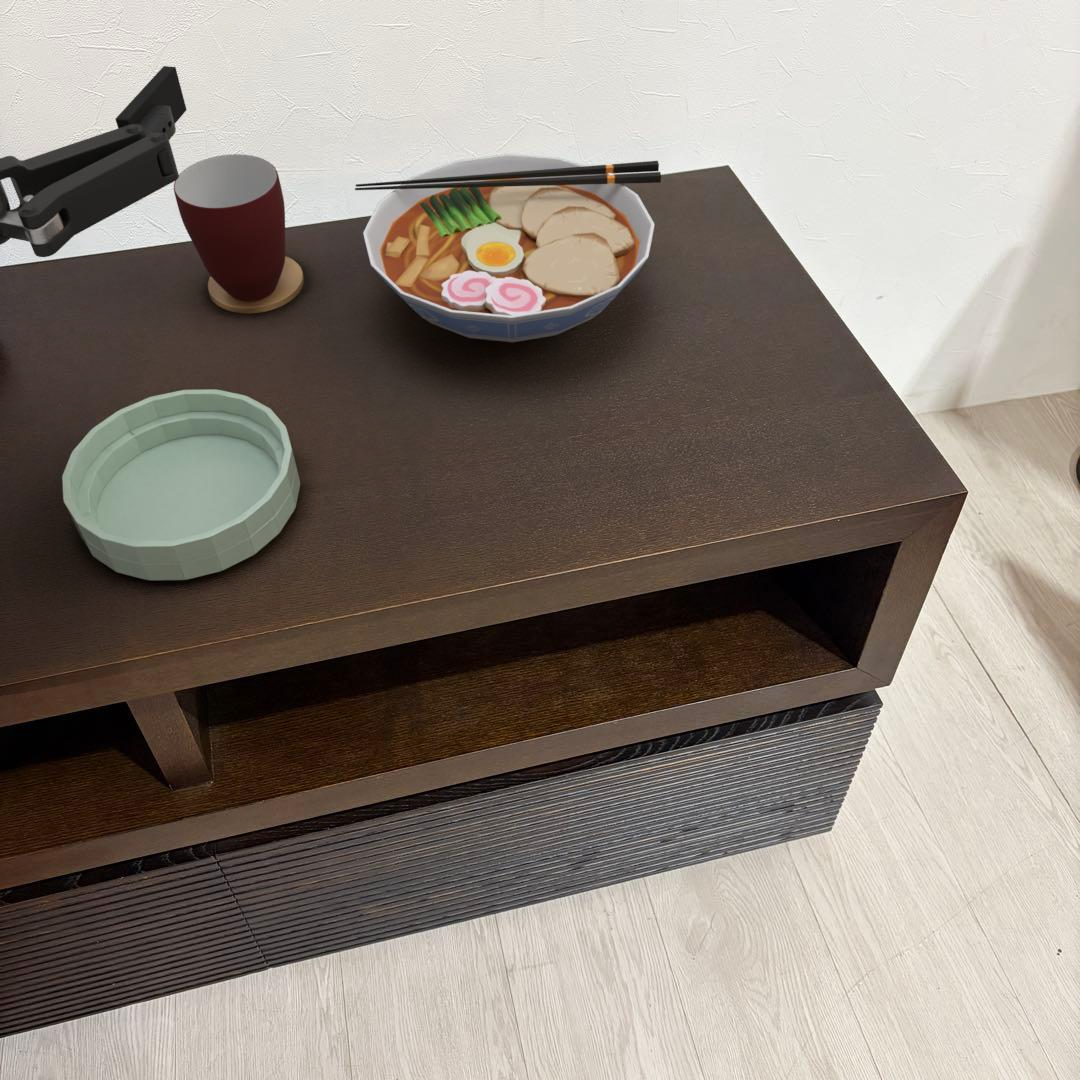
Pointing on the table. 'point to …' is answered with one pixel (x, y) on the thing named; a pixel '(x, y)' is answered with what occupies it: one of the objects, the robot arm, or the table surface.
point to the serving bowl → (182, 484)
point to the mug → (235, 222)
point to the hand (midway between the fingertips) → (73, 78)
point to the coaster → (282, 295)
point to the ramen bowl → (511, 242)
